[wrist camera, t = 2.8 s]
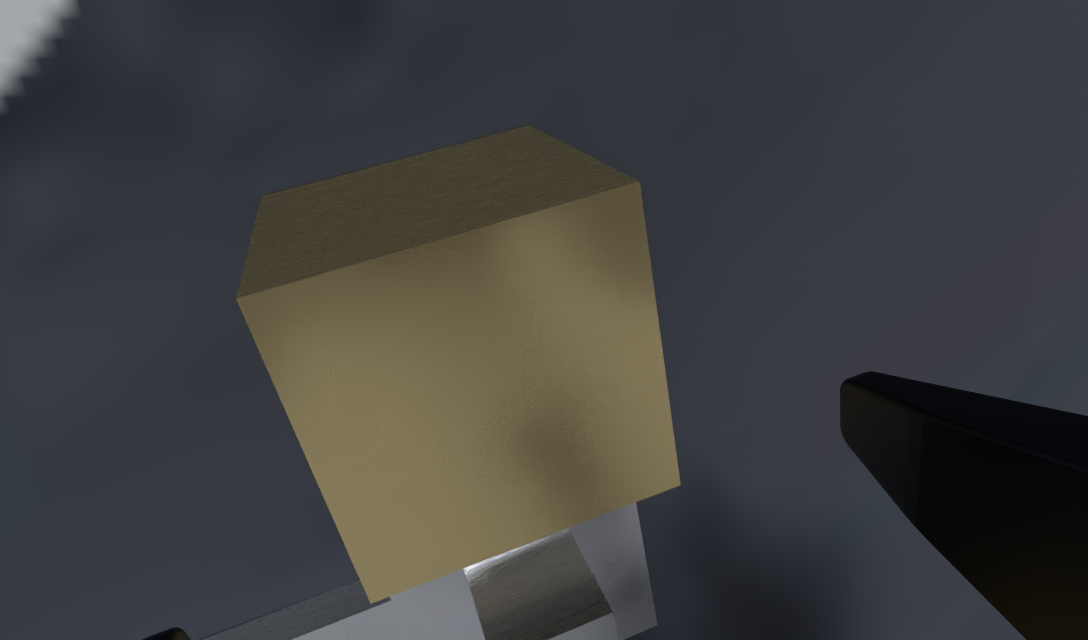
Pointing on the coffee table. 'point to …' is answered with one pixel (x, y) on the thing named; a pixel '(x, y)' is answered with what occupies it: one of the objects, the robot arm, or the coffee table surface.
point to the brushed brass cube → (464, 349)
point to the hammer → (495, 596)
